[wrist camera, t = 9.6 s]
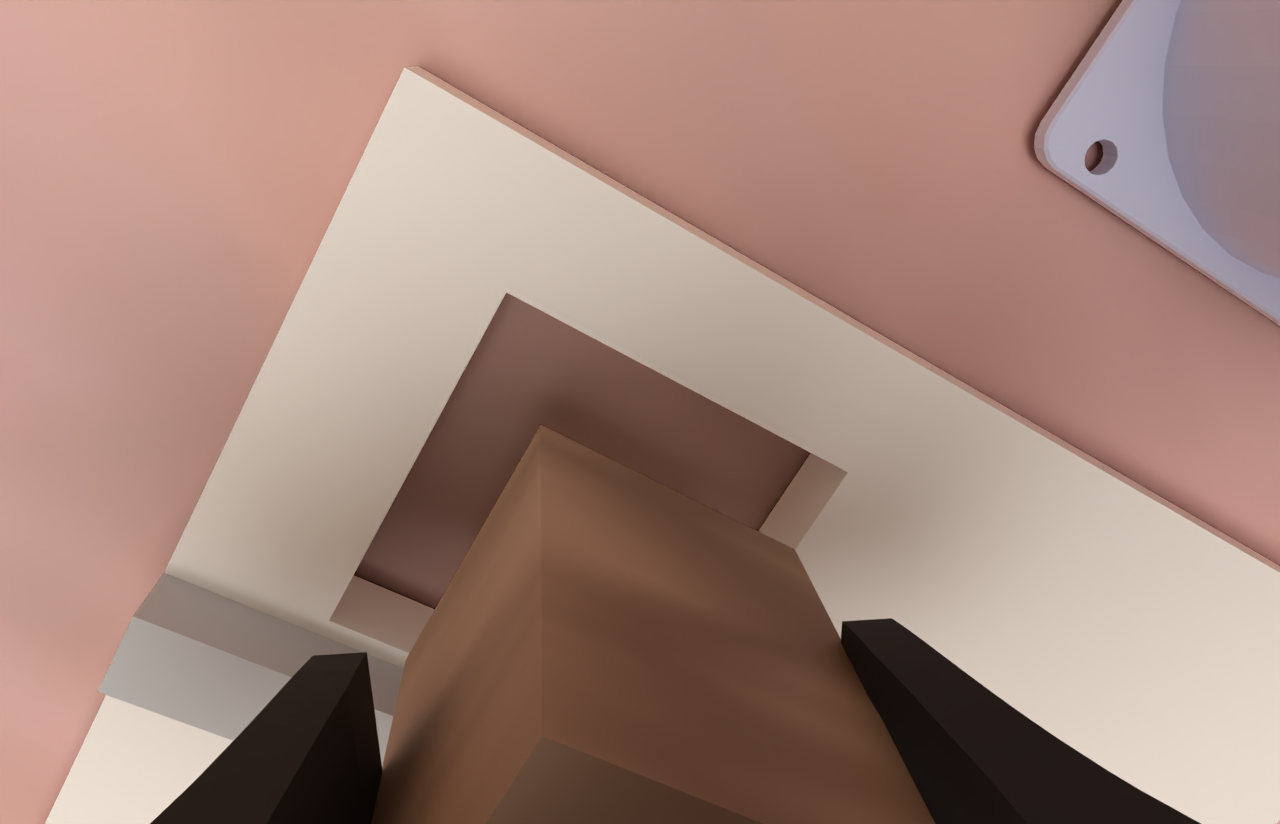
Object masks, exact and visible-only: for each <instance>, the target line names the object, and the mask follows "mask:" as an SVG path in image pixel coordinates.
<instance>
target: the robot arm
mask: <svg viewBox="0 0 1280 824" xmlns="http://www.w3.org/2000/svg"><path fill="white" fill-rule="evenodd" d="M1096 141H1099V142H1100V143H1101V144H1102V146H1103V157H1102V159H1101V162H1100V164H1099V165H1098V166H1097V167H1095V168H1094V169H1093V170H1091V171H1088V170H1087V168H1086V167H1085V159H1084V157H1085V155H1086V152H1087V150H1088V148H1089V147H1090V146H1091V145H1092V144H1093V143H1094V142H1096ZM1034 150H1035V153H1036V156H1037V159H1038V160H1039V161H1040V162H1041V164H1042V165H1043V166H1044V167H1045V168H1047V169H1048V170H1050V171H1051V172H1053V173H1054V174H1055V175H1057V176H1058V177H1060V178H1061V179H1063V180H1064V181H1066V182H1067V183H1069V184H1070V185H1072V186H1073V187H1075V188H1076V189H1078V190H1079V191H1081V192H1082V193H1084V194H1085V195H1087V196H1088V197H1090V198H1091V199H1092V200H1094V201H1095V202H1097V203H1098V204H1100V205H1101V206H1103V207H1104V208H1106V209H1107V210H1109V211H1110V212H1112V213H1113V214H1115V215H1116V216H1118V217H1119V218H1121V219H1122V220H1124V221H1125V222H1127V223H1128V224H1129V225H1131V226H1132V227H1134V228H1135V229H1137V230H1138V231H1140V232H1141V233H1143V234H1144V235H1146V236H1147V237H1149V238H1150V239H1152V240H1153V241H1155V242H1156V243H1158V244H1159V245H1161V246H1162V247H1164V248H1165V249H1166V250H1168V251H1169V252H1171V253H1172V254H1174V255H1175V256H1177V257H1178V258H1180V259H1181V260H1183V261H1184V262H1186V263H1187V264H1189V265H1190V266H1192V267H1193V268H1195V269H1196V270H1198V271H1199V272H1201V273H1202V274H1203V275H1205V276H1206V277H1208V278H1209V279H1211V280H1212V281H1214V282H1215V283H1217V284H1218V285H1220V286H1221V287H1223V288H1224V289H1226V290H1227V291H1229V292H1230V293H1232V294H1233V295H1235V296H1236V297H1238V298H1239V299H1240V300H1242V301H1243V302H1245V303H1246V304H1248V305H1249V306H1251V307H1252V308H1254V309H1255V310H1257V311H1258V312H1260V313H1261V314H1263V315H1264V316H1266V317H1267V318H1269V319H1270V320H1272V321H1273V322H1275V323H1276V324H1277V325H1279V326H1280V0H1122V2H1121V3H1120V5H1119V6H1118V8H1117V9H1116V11H1115V12H1114V14H1113V15H1112V17H1111V18H1110V20H1109V21H1108V22H1107V24H1106V25H1105V27H1104V28H1103V30H1102V31H1101V33H1100V34H1099V36H1098V37H1097V39H1096V40H1095V42H1094V43H1093V45H1092V46H1091V48H1090V49H1089V51H1088V52H1087V54H1086V55H1085V57H1084V58H1083V60H1082V61H1081V63H1080V64H1079V66H1078V67H1077V69H1076V70H1075V72H1074V73H1073V75H1072V76H1071V78H1070V79H1069V81H1068V82H1067V84H1066V85H1065V87H1064V88H1063V89H1062V91H1061V92H1060V94H1059V95H1058V97H1057V98H1056V100H1055V101H1054V103H1053V104H1052V106H1051V107H1050V109H1049V110H1048V112H1047V113H1046V115H1045V116H1044V118H1043V119H1042V121H1041V122H1040V125H1039V127H1038V129H1037V131H1036V133H1035V140H1034ZM841 644H842V646H843V648H844V650H845V652H846V654H847V656H848V658H849V660H850V662H851V664H852V666H853V668H854V670H855V672H856V674H857V676H858V678H859V680H860V681H861V683H862V685H863V687H864V689H865V691H866V693H867V695H868V697H869V699H870V700H871V702H872V704H873V705H874V707H875V709H876V710H877V712H878V714H879V715H880V717H881V719H882V720H883V722H884V724H885V726H886V728H887V730H888V732H889V734H890V736H891V738H892V740H893V742H894V744H895V746H896V748H897V750H898V752H899V754H900V756H901V758H902V760H903V761H904V763H905V765H906V767H907V769H908V771H909V773H910V775H911V777H912V779H913V781H914V783H915V785H916V787H917V789H918V791H919V793H920V795H921V797H922V799H923V800H924V802H925V804H926V806H927V808H928V810H929V812H930V814H931V816H932V818H933V820H934V822H935V824H1201V823H1199V822H1197V821H1195V820H1193V819H1192V818H1190V817H1188V816H1186V815H1184V814H1183V813H1181V812H1179V811H1177V810H1175V809H1174V808H1172V807H1170V806H1168V805H1166V804H1165V803H1163V802H1161V801H1159V800H1157V799H1156V798H1154V797H1152V796H1150V795H1148V794H1147V793H1145V792H1143V791H1141V790H1139V789H1138V788H1136V787H1134V786H1133V785H1131V784H1129V783H1128V782H1126V781H1124V780H1123V779H1121V778H1119V777H1118V776H1116V775H1114V774H1113V773H1111V772H1109V771H1108V770H1106V769H1105V768H1103V767H1102V766H1100V765H1098V764H1097V763H1095V762H1094V761H1092V760H1091V759H1089V758H1088V757H1086V756H1084V755H1083V754H1081V753H1080V752H1078V751H1077V750H1075V749H1074V748H1072V747H1070V746H1069V745H1067V744H1066V743H1064V742H1063V741H1061V740H1060V739H1058V738H1057V737H1055V736H1054V735H1052V734H1051V733H1049V732H1048V731H1046V730H1045V729H1043V728H1042V727H1041V726H1039V725H1038V724H1036V723H1035V722H1033V721H1032V720H1030V719H1029V718H1027V717H1026V716H1025V715H1023V714H1022V713H1020V712H1019V711H1018V710H1016V709H1015V708H1013V707H1012V706H1011V705H1009V704H1008V703H1006V702H1005V701H1004V700H1002V699H1001V698H999V697H998V696H997V695H995V694H994V693H993V692H991V691H990V690H988V689H987V688H986V687H984V686H983V685H982V684H980V683H979V682H978V681H976V680H975V679H974V678H972V677H971V676H970V675H968V674H967V673H966V672H964V671H963V670H962V669H960V668H959V667H958V666H956V665H955V664H954V663H952V662H951V661H950V660H948V659H947V658H946V657H944V656H943V655H942V654H940V653H939V652H938V651H936V650H935V649H934V648H932V647H931V646H930V645H928V644H927V643H926V642H924V641H923V640H922V639H920V638H919V637H918V636H916V635H915V634H914V633H912V632H911V631H910V630H908V629H907V628H905V627H904V626H903V625H901V624H900V623H898V622H897V621H895V620H894V619H892V618H887V619H872V620H856V621H842V629H841ZM381 776H382V763H381V756H380V748H379V740H378V733H377V725H376V718H375V710H374V703H373V695H372V687H371V680H370V672H369V665H368V657H367V652H361V653H345V654H330V655H314V656H312V657H311V658H310V659H309V660H308V661H307V662H306V663H305V664H304V665H303V666H302V667H301V668H300V669H299V670H298V671H297V672H296V673H295V674H294V675H293V677H292V678H291V679H290V680H289V681H288V682H287V683H286V684H285V685H284V686H283V687H282V689H281V690H280V691H279V692H278V693H277V694H276V695H275V696H274V697H273V698H272V700H271V701H270V702H269V703H268V704H267V705H266V706H265V707H264V708H263V709H262V711H261V712H260V713H259V714H258V715H257V716H256V717H255V718H254V719H253V720H252V721H251V722H250V723H249V725H248V726H247V727H246V728H245V729H244V730H243V731H242V732H241V733H240V734H239V735H238V736H237V737H236V739H235V740H234V741H233V742H232V743H231V744H230V745H229V746H228V747H227V748H226V749H225V750H224V751H223V752H222V753H221V754H220V755H219V756H218V757H217V758H216V759H215V760H214V761H213V762H212V763H211V764H210V765H209V767H208V768H207V769H206V770H205V771H204V772H203V773H202V774H201V775H200V776H199V777H198V778H197V779H196V780H195V781H194V782H193V783H192V784H191V785H190V786H189V787H188V788H187V789H186V790H185V791H184V792H183V793H182V794H181V795H180V796H179V797H178V798H176V799H175V800H174V801H173V802H172V803H171V804H170V805H169V806H168V807H167V808H166V809H165V810H164V811H163V812H162V813H161V814H160V815H159V816H158V817H156V818H155V819H154V820H153V821H152V822H151V823H150V824H371V822H372V817H373V813H374V808H375V804H376V799H377V794H378V790H379V785H380V781H381Z"/></svg>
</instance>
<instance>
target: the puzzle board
mask: <svg viewBox="0 0 1280 824" xmlns="http://www.w3.org/2000/svg"><path fill="white" fill-rule="evenodd" d="M506 292H507V293H508V294H510V295H512V296H514V297H516V298H518V299H520V300H522V301H524V302H525V303H527V304H529V305H531V306H533V307H535V308H537V309H539V310H541V311H543V312H544V313H546V314H548V315H550V316H552V317H554V318H556V319H558V320H560V321H562V322H563V323H565V324H567V325H569V326H571V327H573V328H575V329H577V330H579V331H581V332H582V333H584V334H586V335H588V336H590V337H592V338H594V339H596V340H598V341H600V342H601V343H603V344H605V345H607V346H609V347H611V348H613V349H615V350H617V351H619V352H620V353H622V354H624V355H626V356H628V357H630V358H632V359H634V360H636V361H637V362H639V363H641V364H643V365H645V366H647V367H649V368H651V369H653V370H655V371H656V372H658V373H660V374H662V375H664V376H666V377H668V378H670V379H672V380H674V381H675V382H677V383H679V384H681V385H683V386H685V387H687V388H689V389H691V390H693V391H694V392H696V393H698V394H700V395H702V396H704V397H706V398H708V399H710V400H712V401H713V402H715V403H717V404H719V405H721V406H723V407H725V408H727V409H729V410H730V411H732V412H734V413H736V414H738V415H740V416H742V417H744V418H746V419H748V420H749V421H751V422H753V423H755V424H757V425H759V426H761V427H763V428H765V429H767V430H768V431H770V432H772V433H774V434H776V435H778V436H780V437H782V438H784V439H786V440H787V441H789V442H791V443H793V444H795V445H797V446H799V447H801V448H803V449H805V450H806V451H808V452H810V455H809V456H808V458H807V459H806V461H805V462H804V464H803V465H802V467H801V468H800V470H799V471H798V473H797V474H796V476H795V477H794V479H793V480H792V482H791V483H790V485H789V486H788V488H787V489H786V490H785V492H784V493H783V495H782V496H781V498H780V499H779V501H778V502H777V504H776V505H775V507H774V508H773V510H772V511H771V513H770V514H769V516H768V517H767V519H766V520H765V522H764V523H763V525H762V526H761V528H760V529H759V532H761V533H763V534H765V535H767V536H769V537H771V538H773V539H775V540H777V541H779V542H781V543H783V544H785V545H787V546H789V547H791V548H793V549H795V551H796V553H797V555H798V557H799V558H800V560H801V562H802V564H803V566H804V568H805V570H806V572H807V574H808V576H809V578H810V580H811V582H812V584H813V586H814V588H815V590H816V592H817V594H818V596H819V598H820V599H821V601H822V603H823V605H824V607H825V609H826V611H827V613H828V615H829V617H830V619H831V621H832V623H833V625H834V627H835V629H836V631H837V633H838V635H839V637H840V638H841V629H842V621H856V620H872V619H887V618H892V619H894V620H895V621H897V622H898V623H900V624H901V625H903V626H904V627H905V628H907V629H908V630H910V631H911V632H912V633H914V634H915V635H916V636H918V637H919V638H920V639H922V640H923V641H924V642H926V643H927V644H928V645H930V646H931V647H932V648H934V649H935V650H936V651H938V652H939V653H940V654H942V655H943V656H944V657H946V658H947V659H948V660H950V661H951V662H952V663H954V664H955V665H956V666H958V667H959V668H960V669H962V670H963V671H964V672H966V673H967V674H968V675H970V676H971V677H972V678H974V679H975V680H976V681H978V682H979V683H980V684H982V685H983V686H984V687H986V688H987V689H988V690H990V691H991V692H993V693H994V694H995V695H997V696H998V697H999V698H1001V699H1002V700H1004V701H1005V702H1006V703H1008V704H1009V705H1011V706H1012V707H1013V708H1015V709H1016V710H1018V711H1019V712H1020V713H1022V714H1023V715H1025V716H1026V717H1027V718H1029V719H1030V720H1032V721H1033V722H1035V723H1036V724H1038V725H1039V726H1041V727H1042V728H1043V729H1045V730H1046V731H1048V732H1049V733H1051V734H1052V735H1054V736H1055V737H1057V738H1058V739H1060V740H1061V741H1063V742H1064V743H1066V744H1067V745H1069V746H1070V747H1072V748H1074V749H1075V750H1077V751H1078V752H1080V753H1081V754H1083V755H1084V756H1086V757H1088V758H1089V759H1091V760H1092V761H1094V762H1095V763H1097V764H1098V765H1100V766H1102V767H1103V768H1105V769H1106V770H1108V771H1109V772H1111V773H1113V774H1114V775H1116V776H1118V777H1119V778H1121V779H1123V780H1124V781H1126V782H1128V783H1129V784H1131V785H1133V786H1134V787H1136V788H1138V789H1139V790H1141V791H1143V792H1145V793H1147V794H1148V795H1150V796H1152V797H1154V798H1156V799H1157V800H1159V801H1161V802H1163V803H1165V804H1166V805H1168V806H1170V807H1172V808H1174V809H1175V810H1177V811H1179V812H1181V813H1183V814H1184V815H1186V816H1188V817H1190V818H1192V819H1193V820H1195V821H1197V822H1199V823H1201V824H1277V822H1278V821H1279V820H1280V566H1279V565H1277V564H1276V563H1274V562H1272V561H1270V560H1269V559H1267V558H1265V557H1263V556H1262V555H1260V554H1258V553H1257V552H1255V551H1253V550H1251V549H1250V548H1248V547H1246V546H1245V545H1243V544H1241V543H1239V542H1238V541H1236V540H1234V539H1232V538H1231V537H1229V536H1227V535H1226V534H1224V533H1222V532H1220V531H1219V530H1217V529H1215V528H1213V527H1212V526H1210V525H1208V524H1207V523H1205V522H1203V521H1201V520H1200V519H1198V518H1196V517H1195V516H1193V515H1191V514H1189V513H1188V512H1186V511H1184V510H1182V509H1181V508H1179V507H1177V506H1176V505H1174V504H1172V503H1170V502H1169V501H1167V500H1165V499H1163V498H1162V497H1160V496H1158V495H1157V494H1155V493H1153V492H1151V491H1150V490H1148V489H1146V488H1145V487H1143V486H1141V485H1139V484H1138V483H1136V482H1134V481H1132V480H1131V479H1129V478H1127V477H1126V476H1124V475H1122V474H1120V473H1119V472H1117V471H1115V470H1114V469H1112V468H1110V467H1108V466H1107V465H1105V464H1103V463H1101V462H1100V461H1098V460H1096V459H1095V458H1093V457H1091V456H1089V455H1088V454H1086V453H1084V452H1082V451H1081V450H1079V449H1077V448H1076V447H1074V446H1072V445H1070V444H1069V443H1067V442H1065V441H1064V440H1062V439H1060V438H1058V437H1057V436H1055V435H1053V434H1051V433H1050V432H1048V431H1046V430H1045V429H1043V428H1041V427H1039V426H1038V425H1036V424H1034V423H1032V422H1031V421H1029V420H1027V419H1026V418H1024V417H1022V416H1020V415H1019V414H1017V413H1015V412H1014V411H1012V410H1010V409H1008V408H1007V407H1005V406H1003V405H1001V404H1000V403H998V402H996V401H995V400H993V399H991V398H989V397H988V396H986V395H984V394H983V393H981V392H979V391H977V390H976V389H974V388H972V387H970V386H969V385H967V384H965V383H964V382H962V381H960V380H958V379H957V378H955V377H953V376H951V375H950V374H948V373H946V372H945V371H943V370H941V369H939V368H938V367H936V366H934V365H933V364H931V363H929V362H927V361H926V360H924V359H922V358H920V357H919V356H917V355H915V354H914V353H912V352H910V351H908V350H907V349H905V348H903V347H901V346H900V345H898V344H896V343H895V342H893V341H891V340H889V339H888V338H886V337H884V336H883V335H881V334H879V333H877V332H876V331H874V330H872V329H870V328H869V327H867V326H865V325H864V324H862V323H860V322H858V321H857V320H855V319H853V318H852V317H850V316H848V315H846V314H845V313H843V312H841V311H839V310H838V309H836V308H834V307H833V306H831V305H829V304H827V303H826V302H824V301H822V300H820V299H819V298H817V297H815V296H814V295H812V294H810V293H808V292H807V291H805V290H803V289H802V288H800V287H798V286H796V285H795V284H793V283H791V282H789V281H788V280H786V279H784V278H783V277H781V276H779V275H777V274H776V273H774V272H772V271H770V270H769V269H767V268H765V267H764V266H762V265H760V264H758V263H757V262H755V261H753V260H752V259H750V258H748V257H746V256H745V255H743V254H741V253H739V252H738V251H736V250H734V249H733V248H731V247H729V246H727V245H726V244H724V243H722V242H720V241H719V240H717V239H715V238H714V237H712V236H710V235H708V234H707V233H705V232H703V231H702V230H700V229H698V228H696V227H695V226H693V225H691V224H689V223H688V222H686V221H684V220H683V219H681V218H679V217H677V216H676V215H674V214H672V213H671V212H669V211H667V210H665V209H664V208H662V207H660V206H658V205H657V204H655V203H653V202H652V201H650V200H648V199H646V198H645V197H643V196H641V195H639V194H638V193H636V192H634V191H633V190H631V189H629V188H627V187H626V186H624V185H622V184H621V183H619V182H617V181H615V180H614V179H612V178H610V177H608V176H607V175H605V174H603V173H602V172H600V171H598V170H596V169H595V168H593V167H591V166H589V165H588V164H586V163H584V162H583V161H581V160H579V159H577V158H576V157H574V156H572V155H571V154H569V153H567V152H565V151H564V150H562V149H560V148H558V147H557V146H555V145H553V144H552V143H550V142H548V141H546V140H545V139H543V138H541V137H540V136H538V135H536V134H534V133H533V132H531V131H529V130H527V129H526V128H524V127H522V126H521V125H519V124H517V123H515V122H514V121H512V120H510V119H508V118H507V117H505V116H503V115H502V114H500V113H498V112H496V111H495V110H493V109H491V108H490V107H488V106H486V105H484V104H483V103H481V102H479V101H477V100H476V99H474V98H472V97H471V96H469V95H467V94H465V93H464V92H462V91H460V90H458V89H457V88H455V87H453V86H452V85H450V84H448V83H446V82H445V81H443V80H441V79H440V78H438V77H436V76H434V75H433V74H431V73H429V72H427V71H426V70H424V69H422V68H421V67H419V66H412V67H404V69H403V71H402V73H401V75H400V78H399V80H398V82H397V84H396V86H395V88H394V90H393V92H392V94H391V96H390V99H389V101H388V103H387V105H386V107H385V109H384V111H383V113H382V115H381V118H380V120H379V122H378V124H377V126H376V128H375V130H374V132H373V134H372V136H371V139H370V141H369V143H368V145H367V147H366V149H365V151H364V153H363V155H362V158H361V160H360V162H359V164H358V166H357V168H356V170H355V172H354V174H353V176H352V179H351V181H350V183H349V185H348V187H347V189H346V191H345V193H344V195H343V198H342V200H341V202H340V204H339V206H338V208H337V210H336V212H335V214H334V216H333V219H332V221H331V223H330V225H329V227H328V229H327V231H326V233H325V235H324V238H323V240H322V242H321V244H320V246H319V248H318V250H317V252H316V254H315V256H314V259H313V261H312V263H311V265H310V267H309V269H308V271H307V273H306V275H305V278H304V280H303V282H302V284H301V286H300V288H299V290H298V292H297V294H296V296H295V299H294V301H293V303H292V305H291V307H290V309H289V311H288V313H287V315H286V318H285V320H284V322H283V324H282V326H281V328H280V330H279V332H278V334H277V336H276V339H275V341H274V343H273V345H272V347H271V349H270V351H269V353H268V355H267V358H266V360H265V362H264V364H263V366H262V368H261V370H260V372H259V374H258V376H257V379H256V381H255V383H254V385H253V387H252V389H251V391H250V393H249V395H248V398H247V400H246V402H245V404H244V406H243V408H242V410H241V412H240V414H239V416H238V419H237V421H236V423H235V425H234V427H233V429H232V431H231V433H230V435H229V438H228V440H227V442H226V444H225V446H224V448H223V450H222V452H221V454H220V456H219V459H218V461H217V463H216V465H215V467H214V469H213V471H212V473H211V475H210V478H209V480H208V482H207V484H206V486H205V488H204V490H203V492H202V494H201V496H200V499H199V501H198V503H197V505H196V507H195V509H194V511H193V513H192V515H191V518H190V520H189V522H188V524H187V526H186V528H185V530H184V532H183V534H182V536H181V539H180V541H179V543H178V545H177V547H176V549H175V551H174V553H173V555H172V557H171V560H170V562H169V564H168V566H167V568H166V570H165V572H164V574H163V575H162V577H161V578H160V579H159V581H158V582H157V584H156V585H155V586H154V588H153V589H152V591H151V592H150V593H149V595H148V596H147V598H146V599H145V600H144V602H143V603H142V605H141V606H140V607H139V609H138V610H137V612H136V613H135V614H134V616H133V618H132V620H131V622H130V624H129V626H128V628H127V630H126V632H125V635H124V637H123V639H122V641H121V643H120V645H119V647H118V649H117V651H116V654H115V656H114V658H113V660H112V662H111V664H110V666H109V668H108V671H107V673H106V675H105V677H104V679H103V681H102V683H101V685H100V688H99V690H98V692H99V693H102V694H105V695H106V696H105V699H104V701H103V703H102V705H101V707H100V709H99V711H98V713H97V715H96V717H95V720H94V722H93V724H92V726H91V728H90V730H89V732H88V734H87V736H86V739H85V741H84V743H83V745H82V747H81V749H80V751H79V753H78V755H77V757H76V760H75V762H74V764H73V766H72V768H71V770H70V772H69V774H68V776H67V779H66V781H65V783H64V785H63V787H62V789H61V791H60V793H59V795H58V797H57V800H56V802H55V804H54V806H53V808H52V810H51V812H50V814H49V816H48V819H47V821H46V823H45V824H150V823H151V822H152V821H153V820H154V819H155V818H156V817H158V816H159V815H160V814H161V813H162V812H163V811H164V810H165V809H166V808H167V807H168V806H169V805H170V804H171V803H172V802H173V801H174V800H175V799H176V798H178V797H179V796H180V795H181V794H182V793H183V792H184V791H185V790H186V789H187V788H188V787H189V786H190V785H191V784H192V783H193V782H194V781H195V780H196V779H197V778H198V777H199V776H200V775H201V774H202V773H203V772H204V771H205V770H206V769H207V768H208V767H209V765H210V764H211V763H212V762H213V761H214V760H215V759H216V758H217V757H218V756H219V755H220V754H221V753H222V752H223V751H224V750H225V749H226V748H227V747H228V746H229V745H230V744H231V743H232V742H233V741H234V740H235V739H236V737H237V736H238V735H239V734H240V733H241V732H242V731H243V730H244V729H245V728H246V727H247V726H248V725H249V723H250V722H251V721H252V720H253V719H254V718H255V717H256V716H257V715H258V714H259V713H260V712H261V711H262V709H263V708H264V707H265V706H266V705H267V704H268V703H269V702H270V701H271V700H272V698H273V697H274V696H275V695H276V694H277V693H278V692H279V691H280V690H281V689H282V687H283V686H284V685H285V684H286V683H287V682H288V681H289V680H290V679H291V678H292V677H293V675H294V674H295V673H296V672H297V671H298V670H299V669H300V668H301V667H302V666H303V665H304V664H305V663H306V662H307V661H308V660H309V659H310V658H311V657H312V656H314V655H330V654H345V653H361V652H367V657H368V665H369V672H370V680H371V687H372V695H373V703H374V710H375V718H376V725H377V733H378V740H379V748H380V756H381V763H382V766H383V761H384V757H385V752H386V747H387V743H388V738H389V734H390V729H391V725H392V720H393V716H394V711H395V707H396V702H397V697H398V693H399V688H400V684H401V679H402V675H403V670H404V666H405V661H406V659H407V657H408V655H409V653H410V652H411V650H412V648H413V646H414V645H415V643H416V641H417V639H418V638H419V636H420V634H421V632H422V631H423V629H424V627H425V625H426V624H427V622H428V620H429V618H430V617H431V615H432V613H433V612H434V610H435V609H433V608H430V607H428V606H425V605H423V604H421V603H418V602H416V601H414V600H411V599H409V598H406V597H404V596H402V595H399V594H397V593H395V592H392V591H390V590H387V589H385V588H383V587H380V586H378V585H376V584H373V583H371V582H368V581H366V580H364V579H361V578H359V577H357V576H354V573H355V571H356V570H357V568H358V566H359V564H360V562H361V560H362V559H363V557H364V555H365V553H366V551H367V549H368V547H369V546H370V544H371V542H372V540H373V538H374V536H375V534H376V533H377V531H378V529H379V527H380V525H381V523H382V521H383V520H384V518H385V516H386V514H387V512H388V510H389V509H390V507H391V505H392V503H393V501H394V499H395V497H396V496H397V494H398V492H399V490H400V488H401V486H402V484H403V483H404V481H405V479H406V477H407V475H408V473H409V472H410V470H411V468H412V466H413V464H414V462H415V460H416V459H417V457H418V455H419V453H420V451H421V449H422V447H423V446H424V444H425V442H426V440H427V438H428V436H429V435H430V433H431V431H432V429H433V427H434V425H435V423H436V422H437V420H438V418H439V416H440V414H441V412H442V410H443V409H444V407H445V405H446V403H447V401H448V399H449V397H450V396H451V394H452V392H453V390H454V388H455V386H456V385H457V383H458V381H459V379H460V377H461V375H462V373H463V372H464V370H465V368H466V366H467V364H468V362H469V360H470V359H471V357H472V355H473V353H474V351H475V349H476V348H477V346H478V344H479V342H480V340H481V338H482V336H483V335H484V333H485V331H486V329H487V327H488V325H489V323H490V322H491V320H492V318H493V316H494V314H495V312H496V311H497V309H498V307H499V305H500V303H501V301H502V299H503V298H504V296H505V294H506Z"/></svg>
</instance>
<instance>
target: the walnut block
mask: <svg viewBox="0 0 1280 824" xmlns="http://www.w3.org/2000/svg"><path fill="white" fill-rule="evenodd" d="M371 824H935V822H934V820H933V818H932V816H931V814H930V812H929V810H928V808H927V806H926V804H925V802H924V800H923V799H922V797H921V795H920V793H919V791H918V789H917V787H916V785H915V783H914V781H913V779H912V777H911V775H910V773H909V771H908V769H907V767H906V765H905V763H904V761H903V760H902V758H901V756H900V754H899V752H898V750H897V748H896V746H895V744H894V742H893V740H892V738H891V736H890V734H889V732H888V730H887V728H886V726H885V724H884V722H883V720H882V719H881V717H880V715H879V714H878V712H877V710H876V709H875V707H874V705H873V704H872V702H871V700H870V699H869V697H868V695H867V693H866V691H865V689H864V687H863V685H862V683H861V681H860V680H859V678H858V676H857V674H856V672H855V670H854V668H853V666H852V664H851V662H850V660H849V658H848V656H847V654H846V652H845V650H844V648H843V646H842V644H841V638H840V637H839V635H838V633H837V631H836V629H835V627H834V625H833V623H832V621H831V619H830V617H829V615H828V613H827V611H826V609H825V607H824V605H823V603H822V601H821V599H820V598H819V596H818V594H817V592H816V590H815V588H814V586H813V584H812V582H811V580H810V578H809V576H808V574H807V572H806V570H805V568H804V566H803V564H802V562H801V560H800V558H799V557H798V555H797V553H796V551H795V549H793V548H791V547H789V546H787V545H785V544H783V543H781V542H779V541H777V540H775V539H773V538H771V537H769V536H767V535H765V534H763V533H761V532H759V531H756V530H754V529H752V528H750V527H748V526H746V525H744V524H742V523H740V522H738V521H736V520H734V519H732V518H730V517H728V516H726V515H724V514H722V513H720V512H718V511H716V510H714V509H712V508H710V507H708V506H706V505H704V504H701V503H699V502H697V501H695V500H693V499H691V498H689V497H687V496H685V495H683V494H681V493H679V492H677V491H675V490H673V489H671V488H669V487H667V486H665V485H663V484H661V483H659V482H657V481H655V480H653V479H651V478H649V477H647V476H644V475H642V474H640V473H638V472H636V471H634V470H632V469H630V468H628V467H626V466H624V465H622V464H620V463H618V462H616V461H614V460H612V459H610V458H608V457H606V456H604V455H602V454H600V453H598V452H596V451H594V450H592V449H589V448H587V447H585V446H583V445H581V444H579V443H577V442H575V441H573V440H571V439H569V438H567V437H565V436H563V435H561V434H559V433H557V432H555V431H553V430H551V429H549V428H547V427H545V426H543V425H540V427H539V429H538V430H537V432H536V434H535V436H534V437H533V439H532V441H531V443H530V444H529V446H528V448H527V450H526V451H525V453H524V455H523V456H522V458H521V460H520V462H519V463H518V465H517V467H516V469H515V470H514V472H513V474H512V476H511V477H510V479H509V481H508V483H507V484H506V486H505V488H504V490H503V491H502V493H501V495H500V497H499V498H498V500H497V502H496V504H495V505H494V507H493V509H492V510H491V512H490V514H489V516H488V517H487V519H486V521H485V523H484V524H483V526H482V528H481V530H480V531H479V533H478V535H477V537H476V538H475V540H474V542H473V544H472V545H471V547H470V549H469V551H468V552H467V554H466V556H465V558H464V559H463V561H462V563H461V564H460V566H459V568H458V570H457V571H456V573H455V575H454V577H453V578H452V580H451V582H450V584H449V585H448V587H447V589H446V591H445V592H444V594H443V596H442V598H441V599H440V601H439V603H438V605H437V606H436V608H435V610H434V612H433V613H432V615H431V617H430V618H429V620H428V622H427V624H426V625H425V627H424V629H423V631H422V632H421V634H420V636H419V638H418V639H417V641H416V643H415V645H414V646H413V648H412V650H411V652H410V653H409V655H408V657H407V659H406V661H405V666H404V670H403V675H402V679H401V684H400V688H399V693H398V697H397V702H396V707H395V711H394V716H393V720H392V725H391V729H390V734H389V738H388V743H387V747H386V752H385V757H384V761H383V766H382V776H381V781H380V785H379V790H378V794H377V799H376V804H375V808H374V813H373V817H372V822H371Z"/></svg>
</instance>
